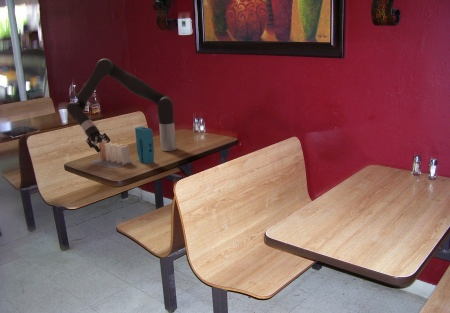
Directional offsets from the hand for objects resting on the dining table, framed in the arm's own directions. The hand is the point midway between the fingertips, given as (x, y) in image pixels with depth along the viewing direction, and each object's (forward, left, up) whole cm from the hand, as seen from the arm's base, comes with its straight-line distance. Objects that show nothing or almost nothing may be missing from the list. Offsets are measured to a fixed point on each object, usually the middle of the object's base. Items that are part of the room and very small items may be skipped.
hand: (105, 150), depth 274 cm
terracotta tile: (+1, -1, -5) cm, 6 cm away
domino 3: (-6, +11, -5) cm, 14 cm away
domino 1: (-2, +3, -5) cm, 6 cm away
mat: (-1, +8, -6) cm, 10 cm away
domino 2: (-4, +7, -5) cm, 10 cm away
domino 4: (-8, +15, -5) cm, 18 cm away
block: (-19, +18, -6) cm, 27 cm away
